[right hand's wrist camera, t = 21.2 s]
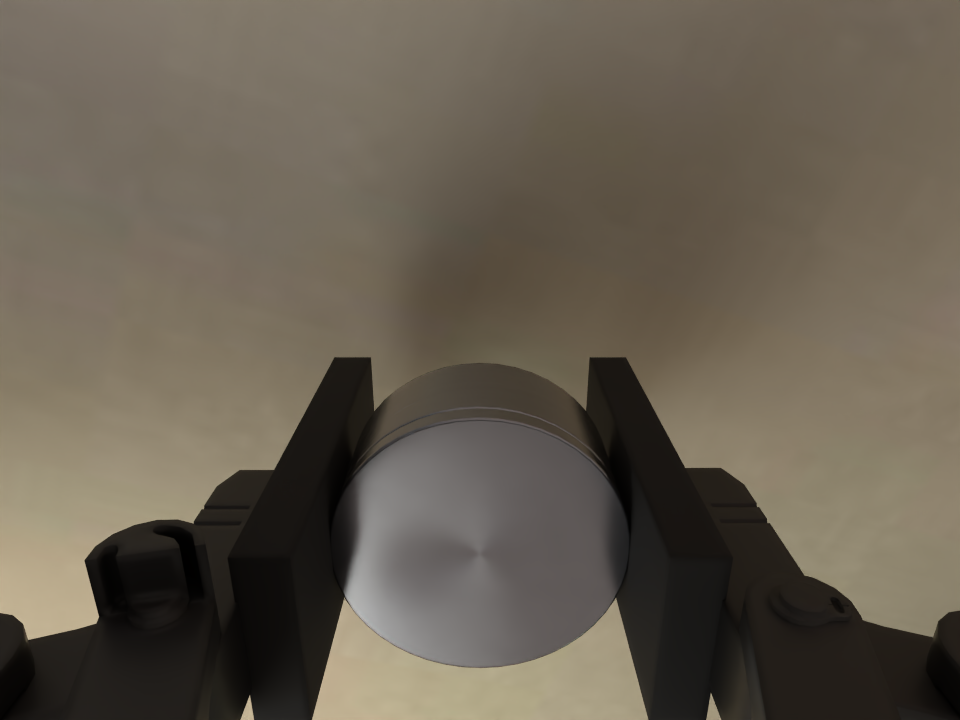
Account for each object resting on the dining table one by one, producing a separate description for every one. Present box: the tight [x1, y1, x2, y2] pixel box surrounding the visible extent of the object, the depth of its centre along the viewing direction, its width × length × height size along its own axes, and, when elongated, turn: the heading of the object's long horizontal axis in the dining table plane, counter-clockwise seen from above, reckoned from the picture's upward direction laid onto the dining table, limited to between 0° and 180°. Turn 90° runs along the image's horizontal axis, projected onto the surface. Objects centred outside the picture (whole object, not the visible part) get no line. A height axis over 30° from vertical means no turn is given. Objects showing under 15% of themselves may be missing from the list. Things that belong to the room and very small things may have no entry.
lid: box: [330, 363, 631, 668], centre depth 11 cm, size 5×5×2 cm
